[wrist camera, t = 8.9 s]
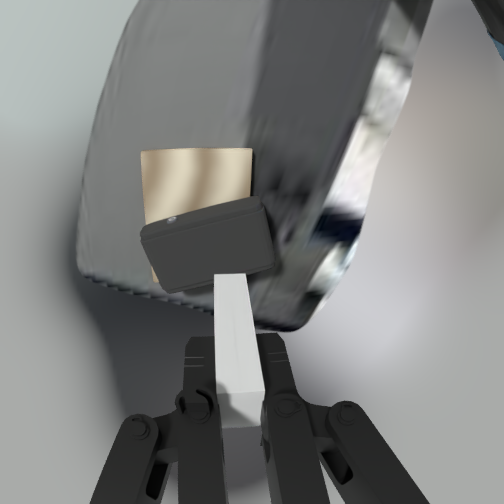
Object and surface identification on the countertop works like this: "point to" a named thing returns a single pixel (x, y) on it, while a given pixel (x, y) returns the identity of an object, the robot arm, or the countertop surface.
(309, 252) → the countertop surface
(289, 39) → the countertop surface
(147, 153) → the birch board
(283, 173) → the countertop surface
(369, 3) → the countertop surface
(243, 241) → the card reader
